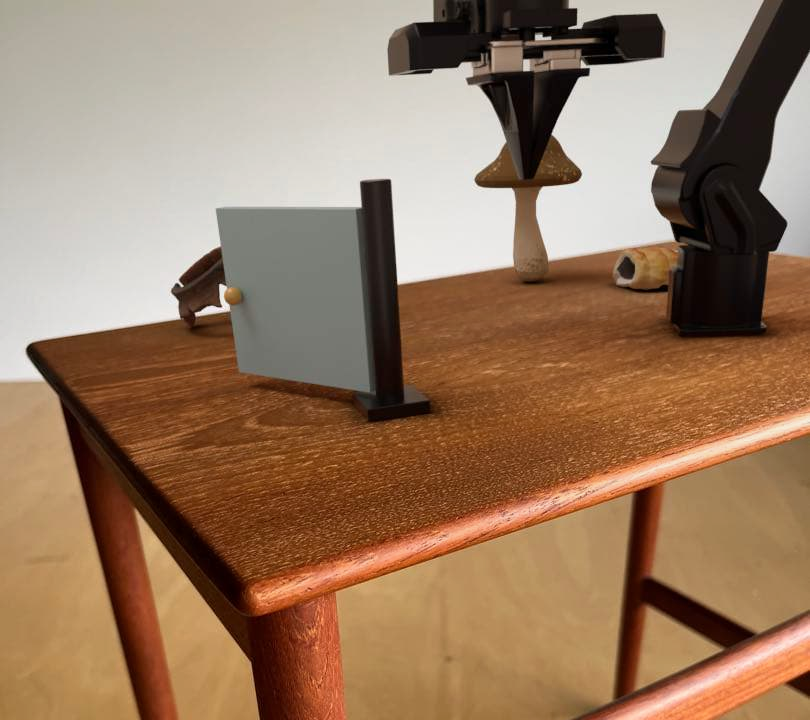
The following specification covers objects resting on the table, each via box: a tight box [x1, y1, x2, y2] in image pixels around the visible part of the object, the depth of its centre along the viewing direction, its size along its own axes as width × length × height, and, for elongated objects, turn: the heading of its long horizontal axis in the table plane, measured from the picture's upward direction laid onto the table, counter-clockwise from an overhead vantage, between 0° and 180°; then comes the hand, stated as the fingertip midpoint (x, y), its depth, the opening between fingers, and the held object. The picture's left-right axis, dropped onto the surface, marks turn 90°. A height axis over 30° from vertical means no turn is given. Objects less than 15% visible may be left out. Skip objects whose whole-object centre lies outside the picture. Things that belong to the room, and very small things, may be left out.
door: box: [215, 206, 375, 393], centre depth 57 cm, size 12×2×11 cm, turn 53°
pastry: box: [612, 245, 678, 291], centre depth 88 cm, size 9×7×4 cm
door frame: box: [351, 178, 431, 422], centre depth 53 cm, size 4×4×14 cm
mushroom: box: [473, 134, 583, 283], centre depth 92 cm, size 9×11×15 cm
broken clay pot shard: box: [170, 245, 227, 328], centre depth 83 cm, size 12×10×8 cm
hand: (526, 179), depth 65 cm, fingers closed
